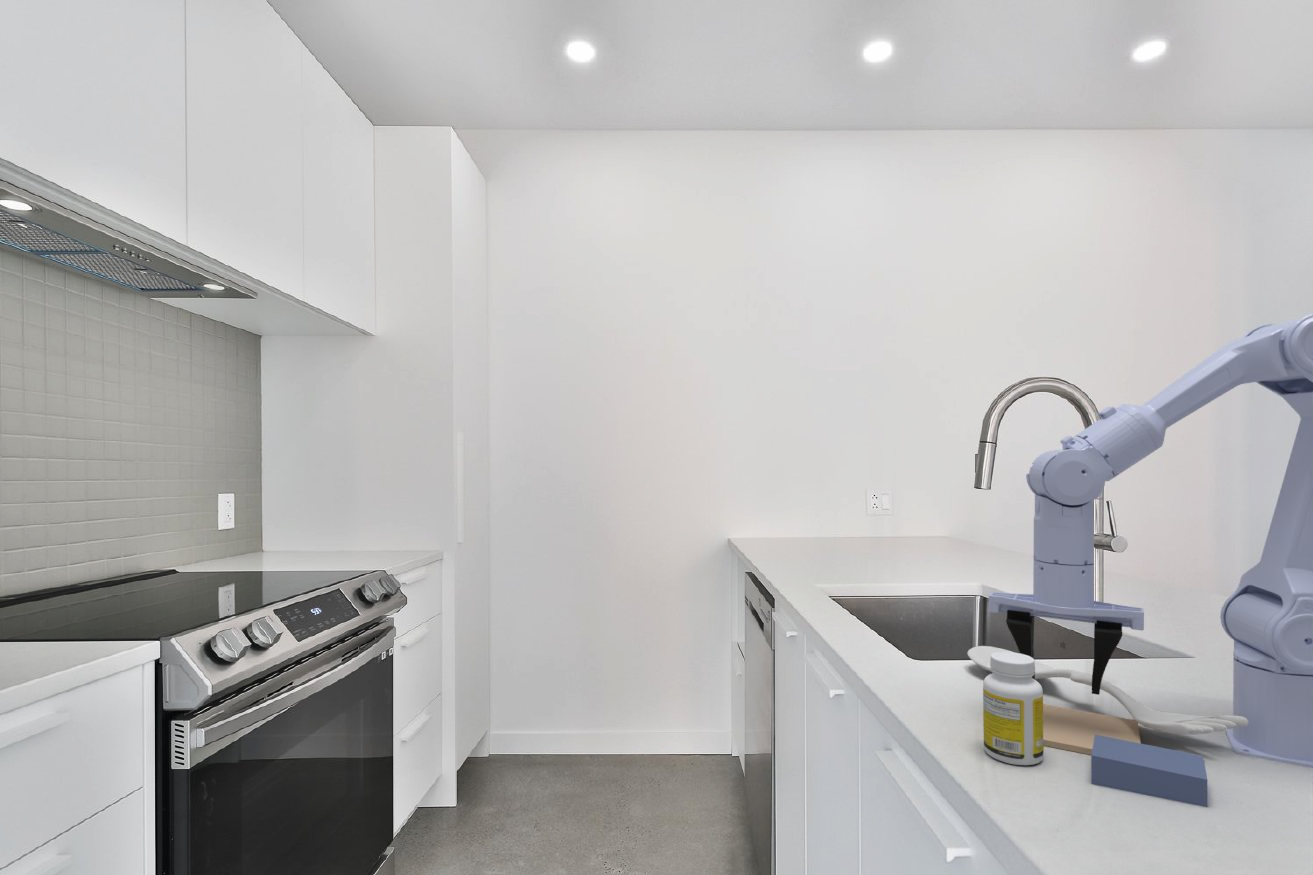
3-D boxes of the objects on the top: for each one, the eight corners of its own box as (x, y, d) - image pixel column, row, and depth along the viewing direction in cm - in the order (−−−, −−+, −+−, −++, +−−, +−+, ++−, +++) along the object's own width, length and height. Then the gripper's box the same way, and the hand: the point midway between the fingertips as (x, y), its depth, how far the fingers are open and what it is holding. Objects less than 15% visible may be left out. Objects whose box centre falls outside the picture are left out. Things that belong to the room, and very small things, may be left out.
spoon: (1185, 759, 69) (1185, 723, 69) (952, 666, 100) (952, 640, 100) (1251, 750, 72) (1251, 715, 72) (1005, 661, 102) (1005, 637, 103)
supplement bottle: (1024, 742, 75) (1025, 648, 75) (1054, 766, 70) (1055, 665, 70) (973, 743, 75) (973, 649, 75) (999, 767, 70) (1000, 666, 70)
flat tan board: (1137, 725, 80) (1137, 720, 80) (1142, 765, 70) (1142, 758, 70) (997, 701, 87) (997, 696, 87) (985, 733, 78) (985, 728, 78)
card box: (1203, 788, 66) (1203, 755, 66) (1207, 814, 62) (1207, 779, 62) (1094, 764, 71) (1094, 734, 71) (1091, 787, 67) (1091, 755, 67)
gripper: (1141, 561, 78) (1141, 687, 78) (994, 549, 86) (993, 664, 86) (1145, 572, 72) (1144, 708, 72) (986, 558, 80) (985, 682, 80)
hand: (1062, 686), depth 79 cm, fingers open, 5 cm apart
